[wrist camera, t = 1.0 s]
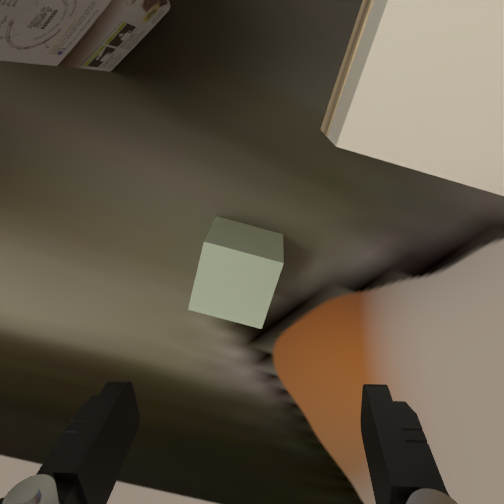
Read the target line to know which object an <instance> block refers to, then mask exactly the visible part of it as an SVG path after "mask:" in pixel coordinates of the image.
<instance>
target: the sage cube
mask: <svg viewBox="0 0 504 504" xmlns="http://www.w3.org/2000/svg"><path fill="white" fill-rule="evenodd" d="M283 264H284V251H283V234H280V233H276V232H273V231H269V230H266V229H262V228H258V227H255V226H251V225H247V224H244V223H240V222H237V221H233V220H229V219H226V218H222V217H218V216H216V217H215V219H214V221H213V224H212V226H211V228H210V230H209V232H208V234H207V236H206V238H205V241H204V244H203V248H202V252H201V256H200V261H199V265H198V269H197V273H196V278H195V282H194V286H193V290H192V294H191V299H190V303H189V307H188V310H191V311H195V312H199V313H202V314H206V315H210V316H214V317H218V318H221V319H225V320H229V321H233V322H237V323H240V324H244V325H248V326H252V327H256V328H259V329H262V326H263V323H264V321H265V318H266V315H267V312H268V309H269V306H270V303H271V300H272V297H273V294H274V291H275V288H276V285H277V282H278V279H279V276H280V273H281V270H282V267H283Z"/></svg>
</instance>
